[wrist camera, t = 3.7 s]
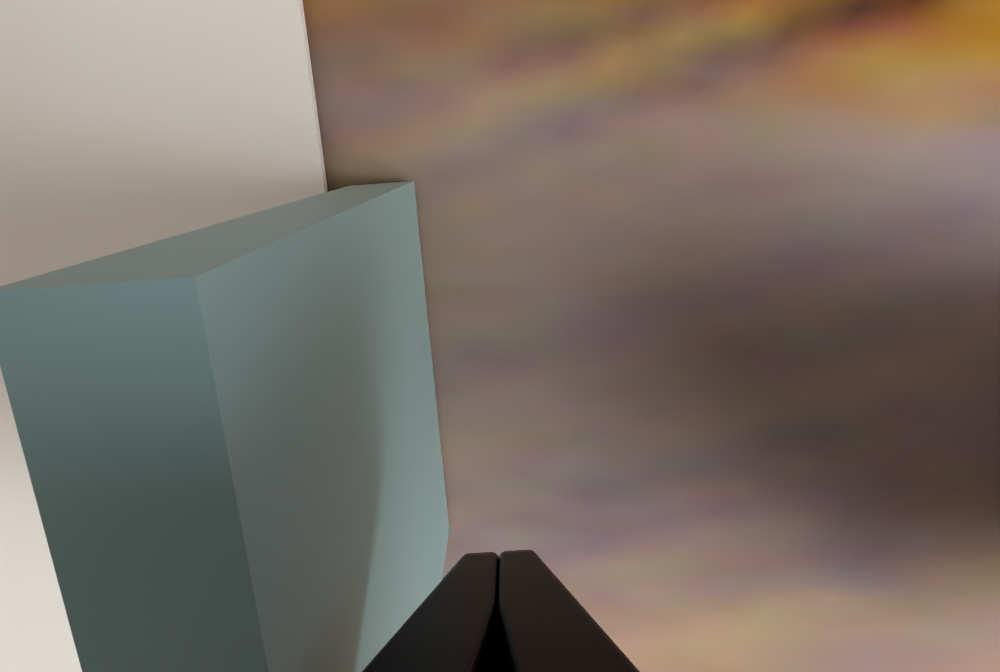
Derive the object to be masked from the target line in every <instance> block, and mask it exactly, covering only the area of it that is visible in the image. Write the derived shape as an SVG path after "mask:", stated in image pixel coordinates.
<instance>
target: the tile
mask: <svg viewBox="0 0 1000 672" xmlns="http://www.w3.org/2000/svg"><path fill="white" fill-rule="evenodd" d="M0 367H1V371H2V375H3V378H4V382H5V386H6V390H7V393H8V397H9V401H10V405H11V408H12V412H13V416H14V420H15V423H16V427H17V431H18V434H19V438H20V442H21V446H22V449H23V453H24V457H25V461H26V464H27V468H28V472H29V476H30V479H31V483H32V487H33V490H34V494H35V498H36V502H37V505H38V509H39V513H40V517H41V520H42V524H43V528H44V531H45V535H46V539H47V543H48V546H49V550H50V554H51V558H52V561H53V565H54V569H55V573H56V576H57V580H58V584H59V587H60V591H61V595H62V599H63V602H64V606H65V610H66V614H67V617H68V621H69V625H70V628H71V632H72V636H73V640H74V643H75V647H76V651H77V655H78V658H79V662H80V666H81V670H82V672H362V671H363V670H364V669H365V667H366V666H367V665H368V664H369V663H370V662H371V661H372V659H373V658H374V657H375V656H376V655H377V654H378V653H379V651H380V650H381V649H382V648H383V647H384V646H385V645H386V643H387V642H388V641H389V640H390V639H391V638H392V637H393V635H394V634H395V633H396V632H397V631H398V630H399V629H400V627H401V626H402V625H403V624H404V623H405V622H406V621H407V619H408V618H409V617H410V616H411V615H412V614H413V613H414V611H415V610H416V609H417V608H418V607H419V606H420V605H421V603H422V602H423V601H424V600H425V599H426V598H427V597H428V596H429V594H430V593H431V592H432V591H433V590H434V589H435V588H436V586H437V585H438V584H439V583H440V582H441V581H442V577H443V570H444V563H445V556H446V549H447V542H448V536H449V521H448V511H447V501H446V492H445V482H444V472H443V462H442V452H441V442H440V432H439V422H438V413H437V403H436V393H435V383H434V373H433V363H432V353H431V343H430V334H429V324H428V314H427V304H426V294H425V284H424V274H423V265H422V255H421V245H420V235H419V225H418V215H417V205H416V195H415V186H414V181H405V182H392V183H378V184H364V185H351V186H346V187H343V188H339V189H336V190H332V191H329V192H325V193H322V194H318V195H315V196H312V197H308V198H305V199H301V200H298V201H294V202H291V203H287V204H284V205H280V206H277V207H273V208H270V209H266V210H263V211H260V212H256V213H253V214H249V215H246V216H242V217H239V218H235V219H232V220H228V221H225V222H221V223H218V224H215V225H211V226H208V227H204V228H201V229H197V230H194V231H190V232H187V233H183V234H180V235H176V236H173V237H169V238H166V239H163V240H159V241H156V242H152V243H149V244H145V245H142V246H138V247H135V248H131V249H128V250H124V251H121V252H117V253H114V254H111V255H107V256H104V257H100V258H97V259H93V260H90V261H86V262H83V263H79V264H76V265H72V266H69V267H65V268H62V269H59V270H55V271H52V272H48V273H45V274H41V275H38V276H34V277H31V278H27V279H24V280H20V281H17V282H13V283H10V284H7V285H3V286H0Z"/></svg>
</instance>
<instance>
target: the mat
mask: <svg viewBox="0 0 1000 672" xmlns="http://www.w3.org/2000/svg"><path fill="white" fill-rule="evenodd" d="M325 192H328V189H327V181H326V174H325V166H324V158H323V151H322V143H321V136H320V128H319V121H318V113H317V106H316V98H315V91H314V83H313V76H312V68H311V61H310V53H309V46H308V38H307V31H306V23H305V15H304V8H303V0H0V286H3V285H7V284H10V283H13V282H17V281H20V280H24V279H27V278H31V277H34V276H38V275H41V274H45V273H48V272H52V271H55V270H59V269H62V268H65V267H69V266H72V265H76V264H79V263H83V262H86V261H90V260H93V259H97V258H100V257H104V256H107V255H111V254H114V253H117V252H121V251H124V250H128V249H131V248H135V247H138V246H142V245H145V244H149V243H152V242H156V241H159V240H163V239H166V238H169V237H173V236H176V235H180V234H183V233H187V232H190V231H194V230H197V229H201V228H204V227H208V226H211V225H215V224H218V223H221V222H225V221H228V220H232V219H235V218H239V217H242V216H246V215H249V214H253V213H256V212H260V211H263V210H266V209H270V208H273V207H277V206H280V205H284V204H287V203H291V202H294V201H298V200H301V199H305V198H308V197H312V196H315V195H318V194H322V193H325ZM0 672H82V670H81V666H80V662H79V658H78V655H77V651H76V647H75V643H74V640H73V636H72V632H71V628H70V625H69V621H68V617H67V614H66V610H65V606H64V602H63V599H62V595H61V591H60V587H59V584H58V580H57V576H56V573H55V569H54V565H53V561H52V558H51V554H50V550H49V546H48V543H47V539H46V535H45V531H44V528H43V524H42V520H41V517H40V513H39V509H38V505H37V502H36V498H35V494H34V490H33V487H32V483H31V479H30V476H29V472H28V468H27V464H26V461H25V457H24V453H23V449H22V446H21V442H20V438H19V434H18V431H17V427H16V423H15V420H14V416H13V412H12V408H11V405H10V401H9V397H8V393H7V390H6V386H5V382H4V378H3V375H2V371H1V367H0Z"/></svg>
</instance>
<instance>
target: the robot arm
mask: <svg viewBox="0 0 1000 672" xmlns="http://www.w3.org/2000/svg"><path fill="white" fill-rule="evenodd" d="M362 672H640V671H639V670H638V669H637V668H636V667H635V666H634V665H633V664H632V662H631V661H630V660H629V659H628V658H627V657H626V656H625V654H624V653H623V652H622V651H621V650H620V649H619V648H618V646H617V645H616V644H615V643H614V642H613V641H612V640H611V638H610V637H609V636H608V635H607V634H606V633H605V632H604V631H603V629H602V628H601V627H600V626H599V625H598V624H597V623H596V621H595V620H594V619H593V618H592V617H591V616H590V615H589V613H588V612H587V611H586V610H585V609H584V608H583V607H582V606H581V604H580V603H579V602H578V601H577V600H576V599H575V598H574V596H573V595H572V594H571V593H570V592H569V591H568V590H567V588H566V587H565V586H564V585H563V584H562V583H561V582H560V580H559V579H558V578H557V577H556V576H555V575H554V574H553V573H552V571H551V570H550V569H549V568H548V567H547V566H546V565H545V563H544V562H543V561H542V560H541V559H540V558H539V557H538V555H537V554H536V553H535V552H534V551H532V550H517V551H504V552H502V553H501V554H500V556H498V555H497V554H496V553H494V552H484V553H468V554H465V555H464V556H463V557H462V558H461V559H460V560H459V561H458V562H457V564H456V565H455V566H454V567H453V568H452V569H451V570H450V572H449V573H448V574H447V575H446V576H445V577H444V578H443V580H442V581H441V582H440V583H439V584H438V585H437V586H436V588H435V589H434V590H433V591H432V592H431V593H430V594H429V596H428V597H427V598H426V599H425V600H424V601H423V602H422V603H421V605H420V606H419V607H418V608H417V609H416V610H415V611H414V613H413V614H412V615H411V616H410V617H409V618H408V619H407V621H406V622H405V623H404V624H403V625H402V626H401V627H400V629H399V630H398V631H397V632H396V633H395V634H394V635H393V637H392V638H391V639H390V640H389V641H388V642H387V643H386V645H385V646H384V647H383V648H382V649H381V650H380V651H379V653H378V654H377V655H376V656H375V657H374V658H373V659H372V661H371V662H370V663H369V664H368V665H367V666H366V667H365V669H364V670H363V671H362Z"/></svg>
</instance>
